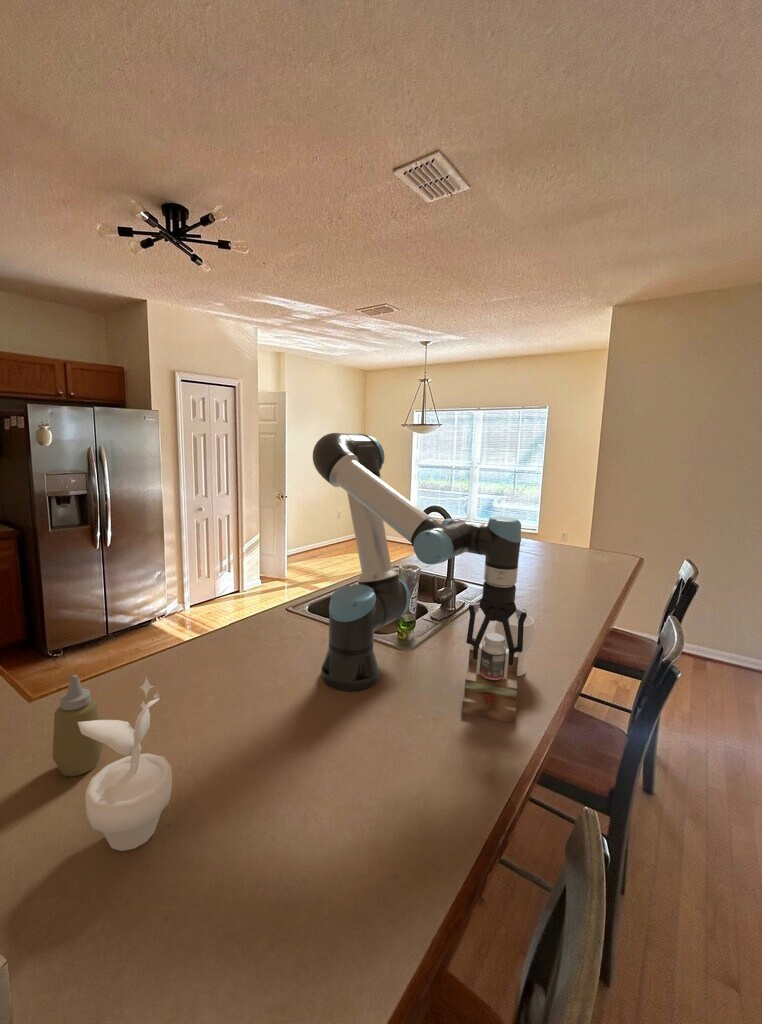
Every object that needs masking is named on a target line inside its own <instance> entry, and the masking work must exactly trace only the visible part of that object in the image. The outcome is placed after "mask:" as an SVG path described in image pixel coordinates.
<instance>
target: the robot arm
mask: <svg viewBox="0 0 762 1024" xmlns="http://www.w3.org/2000/svg"><path fill="white" fill-rule="evenodd" d="M312 462H313V466H314V468H315V470H316V472H317V473H318V474H319V475H320V476H321V477H322V478H323V480H325V481H326V482H327V483H329V484H330V485H331V486H332V487H334V488H339V487H340V488H341V489H343V490H344V491H345V492H346V493H347V498H348V504H349V505H348V506H349V510H350V515H351V519H352V520H351V521H352V526H353V531H354V537H355V543H356V548H357V554H358V559H359V563H360V564H359V565H360V569H361V570H360V571H361V575H359V577H358V578H357V584H355V583H354V584H352V585H349V584H347V585H345V586H341V587H340V588H339V587H338V588H337V589H336V590H335V591H334V592H332V594H331V596H330V601H329V605H328V613H329V614H328V615H329V616H328V622H329V623H328V648H327V651H326V654H325V657H324V660H323V662H322V665H321V671H320V675H321V680H322V682H323V683H324V684H325V685H327V686H328V687H331V688H332V689H335V690H339V691H347V692H355V691H356V692H357V691H363V690H365V689H368V688H370V687H373V685H375V684H376V683H377V682H378V680H379V677H380V675H379V671H380V670H379V669H380V668H379V665H378V661H377V657H376V654H375V650H374V638H375V636H374V635H375V631H377V630H379V629H381V628H383V627H384V626H387V625H388V624H390V623H394V622H395V621H398V619H400V618H401V617H403V615H404V614H406V612H407V611H408V609H409V607H410V603H411V593H410V590H409V587H408V585H407V584H406V583H404V581H403V580H402V579H400V576H399V572H398V571H397V570H395V569H394V568H393V567H392V563H391V562H392V561H391V557H390V551H389V545H388V541H387V539H388V538H387V535H386V529H385V524H387V525H388V526H389V527H390V528H392V529H393V530H394V531H395V532H397V533H398V534H399V535H401V536H402V537H403V538H404V539H406V540H407V541H408V542H409V543H411V545H412V547H413V552H414V554H415V556H416V558H417V559H418V560H419V561H420V562H421V563H423V564H425V565H430V566H431V565H437V564H440V563H444V562H447V561H448V560H449V559H450V560H451V559H452V558H455V557H456V556H459V555H462V554H464V553H470V554H475V555H480V556H485V557H484V558H485V561H484V573H483V580H484V581H483V584H482V596H481V599H480V601H479V602H476V603H475V602H473V601H471V602H469V603H468V604H469V605H468V612H469V620H468V627H467V634H466V644H468V645H470V646H471V645H473V647H474V649H473V659H476V660H477V671H476V674H479V673H480V663H481V652H482V645H483V644H481V642H482V641H483V637H484V635H485V633H486V631H487V628H488V626H489V624H490V622H496V621H498V622H502V623H503V627H504V631H505V635H506V640H507V644H508V649H506V655H505V666H504V677H503V679H507V670H508V665H513V660H514V653H515V652H522V650H523V628H524V621H525V619H526V617H527V616H528V614H527V613H528V612H527V609H524V608H523V609H520V608H519V607H517V606H516V603H515V602H516V590H517V586H516V584H517V582H518V570H519V559H520V558H519V557H520V549H521V542H522V523H521V522H520V520H519V519H517V518H514V517H509V516H505V517H504V516H492V517H489V519H488V521H487V523H481V522H475V521H470V520H469V521H468V520H463V519H460V518H455V519H454V518H445V519H444V520H442V522H441V523H440V522H438V521H437V520H436V519H434V518H433V517H431V516H430V515H429V514H427V513H426V512H425V511H424V510H423V509H421V508H420V507H418V506H417V505H416V504H414V503H413V502H412V501H410V500H409V499H408V498H406V497H405V496H404V495H402V494H401V493H400V492H398V491H397V490H395V488H393V487H392V486H391V485H389V484H387V483H386V482H385V481H383V480H382V479H381V478H382V476H381V470H382V468H383V464H385V452H384V449H383V446H382V444H381V443H380V441H379V440H377V438H375V437H374V436H371V435H369V434H364V433H359V432H358V433H340V432H330V433H327V434H325V435H323V436H322V437H321V438H319V439H318V440H317V442H316V444H315V445H314V447H313V450H312ZM384 523H385V524H384ZM479 608H480V609H481V611H482V612H483V614H484V617H483V621H482V623H481V625H480V628H479V630H478V632H477V634H476V636H475V638H474V637H473V636H474V630H475V623H476V622H475V621H476V616H477V614H476V613H478V612H479ZM514 613H516V617H517V618H518V637H517V645H514V643H513V638H512V634H511V629H510V625H509V620H508V619H509V618H510V617H511V616H512V615H513V614H514Z"/></svg>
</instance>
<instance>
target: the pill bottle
mask: <svg viewBox="0 0 762 1024" xmlns="http://www.w3.org/2000/svg"><path fill="white" fill-rule="evenodd" d="M484 635H485V636H484V642H483V644H481V645H482V652H481V663H480V674H481V675H482V676H483V677H485V678H487V679H490V680H499V679H501V678H502V677H503V675H504V666H505V655H506V648H505V646H504V643H505V638H504V636H502V635H500V634H497V633H495V632H488V633H486V634H484Z"/></svg>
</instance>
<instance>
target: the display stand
mask: <svg viewBox="0 0 762 1024" xmlns="http://www.w3.org/2000/svg"><path fill="white" fill-rule="evenodd" d="M469 647H470V648H469V656H468V665H467V669H466V675H465V680H464V691H463V697H462V701H461V703H462V704H461V713H463V714H467V715H472V716H477V717H482V718H487V719H492V720H498V721H503V722H509V723H512V724H516V715H517V714H516V713H517V696H518V695H517V694H518V676H517V667H518V652H515V653H514V660H513V665H508V670H507V679H503V677H504V675H503V677H502V678H501V679H499V680H490V679H487V678H485V677H483V676H482V675H481V674H480V673H479V674H476V671H477V660H476V659H473V649H474V647H473V645H471V644H470V646H469Z"/></svg>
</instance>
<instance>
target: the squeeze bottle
mask: <svg viewBox="0 0 762 1024" xmlns="http://www.w3.org/2000/svg"><path fill="white" fill-rule="evenodd" d="M91 696H92V695H91V690H90V689H88V688H83V686H82V683H81V680H80V677H79V676H78V674H72V675H70V676H69V681H68V686H67V690H66V692H64V693H62V695H61V696H60V697H59V707H58V708H56V710H55V711H54V717H53V719H54V720H53V735H52V737H53V738H52V759H53V762H54V763H55V765H56V766H57V768H58V770H59V772H60V773H61V774H62V775H64V776H65V777H77V776H81V775H83V774H86V773H88V772H90V771H91V770H93V769H94V768H95V767H96V766H97V765H98V763H99V760H100V758H101V755H102V752H103V748H104V746H105V744H104V743H102V742H99V741H97V740H94V739H92V738H90V737H87V736H85V735H83V734H81V731H80V728H79V726H78V722H83V721H93V720H101V718H100V713H99V708H98V704H97V703H98V702H97V701H96V700H94V699H93V698H92V697H91Z"/></svg>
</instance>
